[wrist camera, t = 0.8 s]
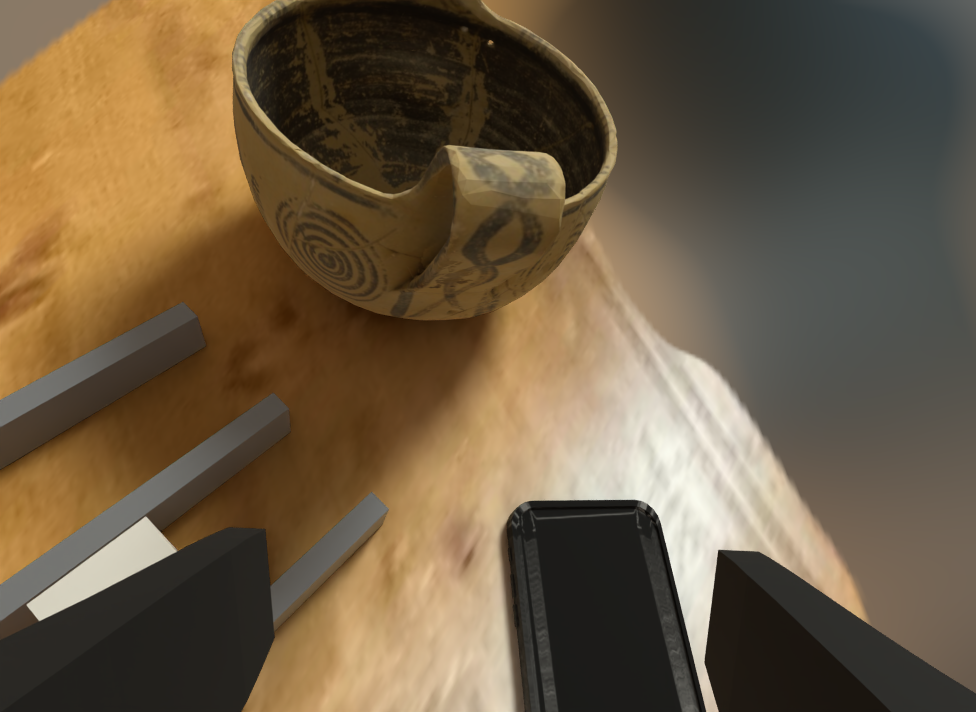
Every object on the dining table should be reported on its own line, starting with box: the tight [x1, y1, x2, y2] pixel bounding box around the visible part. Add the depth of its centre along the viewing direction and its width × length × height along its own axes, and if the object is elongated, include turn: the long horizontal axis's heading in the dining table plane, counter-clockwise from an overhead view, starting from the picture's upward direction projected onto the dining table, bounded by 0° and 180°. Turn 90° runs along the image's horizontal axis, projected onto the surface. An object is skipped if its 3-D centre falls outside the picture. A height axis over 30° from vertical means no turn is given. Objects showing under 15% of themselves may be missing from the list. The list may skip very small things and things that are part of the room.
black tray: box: [507, 500, 706, 712], centre depth 23 cm, size 8×1×15 cm
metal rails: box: [0, 302, 389, 640], centre depth 19 cm, size 18×14×3 cm
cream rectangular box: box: [27, 517, 178, 621], centre depth 18 cm, size 4×3×5 cm
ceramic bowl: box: [232, 0, 617, 320], centre depth 26 cm, size 22×17×15 cm
